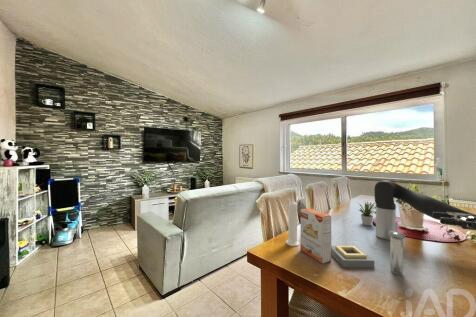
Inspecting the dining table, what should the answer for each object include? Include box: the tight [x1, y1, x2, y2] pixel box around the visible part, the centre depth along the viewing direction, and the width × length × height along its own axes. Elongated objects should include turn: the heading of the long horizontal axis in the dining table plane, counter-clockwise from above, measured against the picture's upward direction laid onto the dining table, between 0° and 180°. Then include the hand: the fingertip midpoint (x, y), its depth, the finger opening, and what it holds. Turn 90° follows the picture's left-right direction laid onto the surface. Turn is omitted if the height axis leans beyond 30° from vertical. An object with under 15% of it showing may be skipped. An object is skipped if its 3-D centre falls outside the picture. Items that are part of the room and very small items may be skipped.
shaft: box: [389, 230, 406, 277], centre depth 79 cm, size 5×5×16 cm
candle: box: [285, 197, 301, 247], centre depth 105 cm, size 7×7×25 cm
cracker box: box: [299, 207, 332, 265], centre depth 92 cm, size 14×6×21 cm, turn 23°
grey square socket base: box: [331, 245, 375, 269], centre depth 89 cm, size 13×13×4 cm
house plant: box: [357, 201, 376, 226], centre depth 135 cm, size 14×14×16 cm
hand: (436, 217), depth 72 cm, fingers open, 8 cm apart
